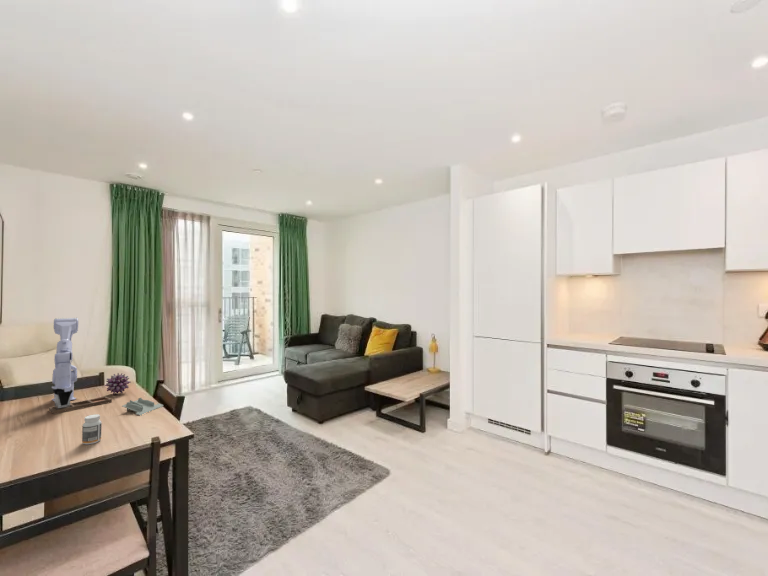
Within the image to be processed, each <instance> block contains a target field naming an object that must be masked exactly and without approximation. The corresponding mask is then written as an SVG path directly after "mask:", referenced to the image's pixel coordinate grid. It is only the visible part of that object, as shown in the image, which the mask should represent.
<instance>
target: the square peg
mask: <svg viewBox="0 0 768 576" xmlns="http://www.w3.org/2000/svg"><path fill="white" fill-rule="evenodd" d="M70 403H71V400H70V397H69V400H68V403H67V405H61V403H60V397H59V395H58V394H55V401H54V406H55V410H58V409H63V408H68V407H70Z"/></svg>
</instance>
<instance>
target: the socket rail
mask: <svg viewBox="0 0 768 576" xmlns="http://www.w3.org/2000/svg"><path fill="white" fill-rule="evenodd" d="M108 402H109V403H112V398H110V397H108V396H101V397H96V398H92V399H91V398H90V399H86V400H80V401H75V402H70V407H68V408H63V409H58V410H55V405H54V406H50V407H48V412H49V413H52V414H53V415H56V414H60V413H64V412H65V413H66V412H69V411H74V410H78V409H83V408H89V407H93V406H98V405H103V404H108Z"/></svg>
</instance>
